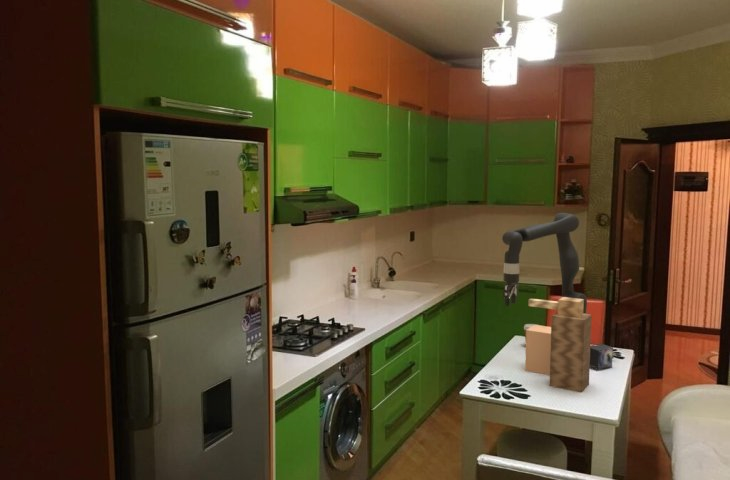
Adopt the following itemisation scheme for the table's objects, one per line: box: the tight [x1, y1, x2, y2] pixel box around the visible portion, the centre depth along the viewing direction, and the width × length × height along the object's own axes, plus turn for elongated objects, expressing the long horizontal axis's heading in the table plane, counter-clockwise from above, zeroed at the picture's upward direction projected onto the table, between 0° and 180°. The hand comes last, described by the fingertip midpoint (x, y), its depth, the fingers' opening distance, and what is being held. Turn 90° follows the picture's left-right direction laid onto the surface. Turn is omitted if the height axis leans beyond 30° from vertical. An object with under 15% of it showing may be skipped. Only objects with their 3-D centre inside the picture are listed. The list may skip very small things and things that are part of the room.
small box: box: [590, 343, 614, 372], centre depth 280 cm, size 11×6×10 cm, turn 117°
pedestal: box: [524, 324, 551, 376], centre depth 277 cm, size 14×12×20 cm
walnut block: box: [549, 311, 593, 393], centre depth 256 cm, size 14×12×32 cm
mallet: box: [528, 296, 584, 318], centre depth 258 cm, size 23×7×7 cm, turn 55°
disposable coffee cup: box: [523, 323, 538, 341], centre depth 314 cm, size 10×10×12 cm
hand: (510, 304), depth 283 cm, fingers open, 8 cm apart
